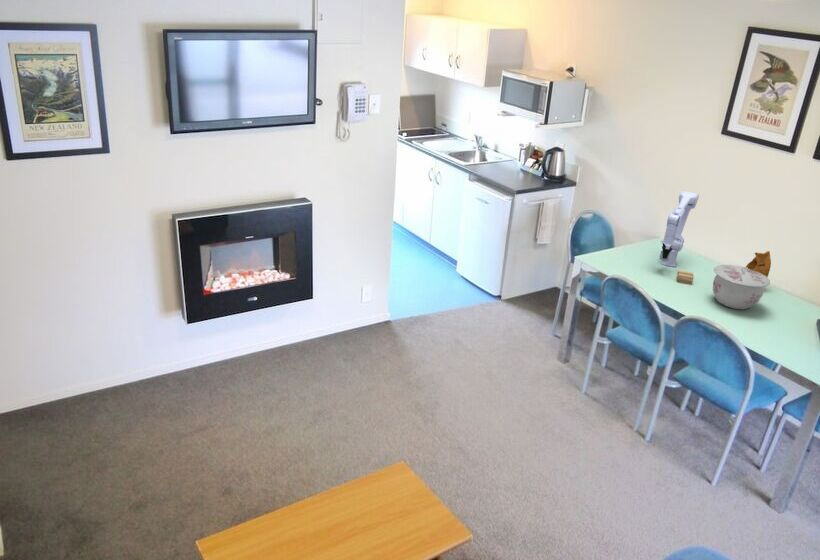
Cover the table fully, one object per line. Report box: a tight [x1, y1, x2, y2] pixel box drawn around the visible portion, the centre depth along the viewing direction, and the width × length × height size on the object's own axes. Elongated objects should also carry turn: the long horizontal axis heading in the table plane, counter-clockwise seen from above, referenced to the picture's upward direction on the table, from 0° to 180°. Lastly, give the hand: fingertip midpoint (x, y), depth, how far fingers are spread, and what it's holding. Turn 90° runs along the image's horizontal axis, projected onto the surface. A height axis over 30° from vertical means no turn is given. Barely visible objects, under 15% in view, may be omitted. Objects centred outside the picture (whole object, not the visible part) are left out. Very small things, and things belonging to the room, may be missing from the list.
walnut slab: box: [676, 275, 693, 286], centre depth 378 cm, size 8×8×2 cm
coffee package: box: [745, 250, 772, 278], centre depth 373 cm, size 10×12×22 cm
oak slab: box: [676, 269, 695, 283], centre depth 377 cm, size 8×8×2 cm
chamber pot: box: [712, 264, 771, 310], centre depth 351 cm, size 28×28×21 cm
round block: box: [659, 249, 670, 261], centre depth 384 cm, size 5×5×4 cm
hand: (664, 256), depth 384 cm, fingers closed on round block, 5 cm apart
